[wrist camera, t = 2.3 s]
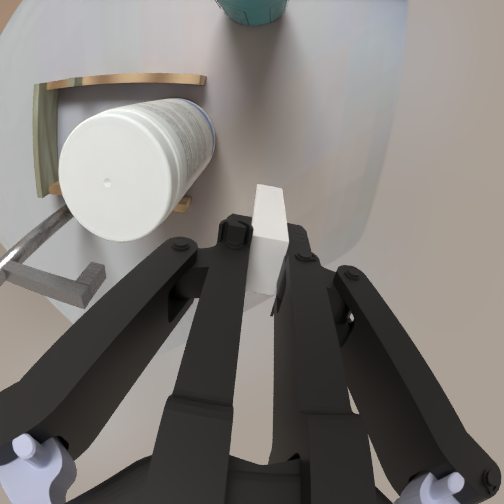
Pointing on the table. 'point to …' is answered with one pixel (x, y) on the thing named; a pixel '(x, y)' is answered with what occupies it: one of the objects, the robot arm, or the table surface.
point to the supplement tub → (134, 165)
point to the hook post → (46, 282)
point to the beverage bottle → (253, 10)
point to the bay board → (47, 122)
